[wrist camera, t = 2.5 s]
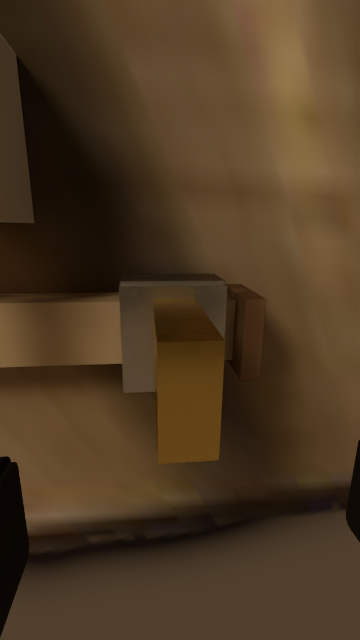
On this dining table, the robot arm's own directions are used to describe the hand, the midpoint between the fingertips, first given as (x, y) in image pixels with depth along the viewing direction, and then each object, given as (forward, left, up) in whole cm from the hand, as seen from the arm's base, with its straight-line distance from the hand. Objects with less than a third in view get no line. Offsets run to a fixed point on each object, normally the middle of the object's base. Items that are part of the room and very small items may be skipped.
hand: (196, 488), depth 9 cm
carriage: (0, -1, -15) cm, 15 cm away
